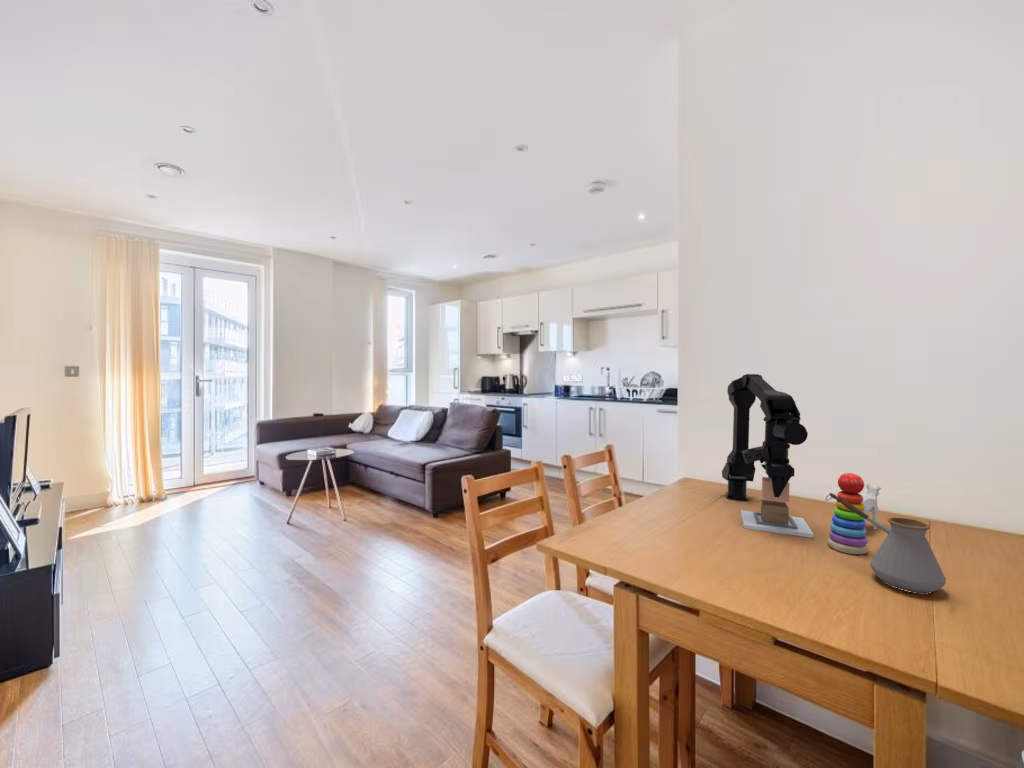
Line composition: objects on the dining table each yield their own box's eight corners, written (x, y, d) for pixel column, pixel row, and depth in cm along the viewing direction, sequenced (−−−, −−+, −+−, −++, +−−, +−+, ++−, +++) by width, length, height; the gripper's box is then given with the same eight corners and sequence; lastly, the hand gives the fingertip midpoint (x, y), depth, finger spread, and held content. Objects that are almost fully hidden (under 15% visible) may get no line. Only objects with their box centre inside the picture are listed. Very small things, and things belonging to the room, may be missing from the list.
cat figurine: (884, 526, 124) (885, 476, 123) (855, 541, 113) (857, 486, 112) (864, 521, 127) (866, 473, 127) (835, 535, 116) (837, 482, 116)
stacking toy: (820, 545, 109) (822, 470, 109) (839, 540, 112) (841, 468, 112) (856, 558, 102) (859, 478, 101) (875, 552, 105) (878, 474, 105)
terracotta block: (761, 493, 128) (762, 476, 128) (785, 496, 125) (786, 479, 125) (763, 499, 122) (764, 481, 122) (788, 502, 120) (789, 483, 120)
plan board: (740, 513, 134) (740, 508, 133) (802, 521, 127) (803, 515, 127) (744, 528, 121) (744, 522, 121) (813, 537, 114) (813, 531, 114)
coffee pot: (958, 593, 86) (961, 517, 86) (926, 604, 82) (929, 524, 81) (840, 551, 106) (842, 489, 105) (809, 559, 101) (811, 494, 101)
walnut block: (760, 516, 128) (761, 499, 128) (784, 519, 125) (785, 502, 125) (763, 522, 122) (763, 505, 122) (788, 526, 120) (788, 508, 120)
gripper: (741, 432, 135) (740, 483, 135) (746, 441, 118) (745, 499, 118) (784, 435, 130) (782, 487, 131) (795, 445, 113) (793, 504, 114)
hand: (774, 494), depth 124 cm, fingers closed on terracotta block, 6 cm apart
